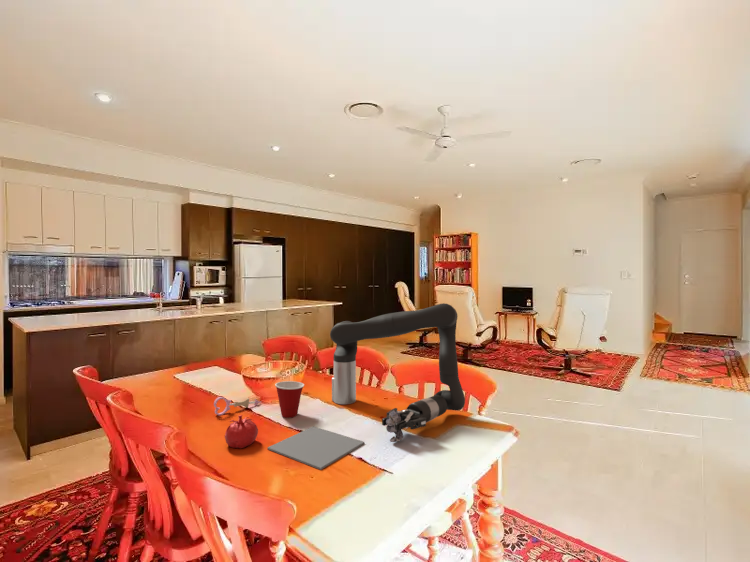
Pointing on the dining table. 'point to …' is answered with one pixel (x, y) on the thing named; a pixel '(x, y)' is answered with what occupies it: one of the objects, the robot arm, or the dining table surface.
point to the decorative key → (242, 403)
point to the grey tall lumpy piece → (391, 422)
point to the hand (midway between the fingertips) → (389, 424)
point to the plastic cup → (289, 397)
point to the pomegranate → (241, 433)
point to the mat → (316, 447)
